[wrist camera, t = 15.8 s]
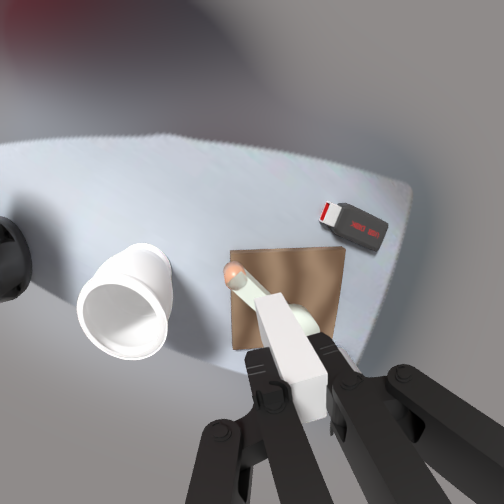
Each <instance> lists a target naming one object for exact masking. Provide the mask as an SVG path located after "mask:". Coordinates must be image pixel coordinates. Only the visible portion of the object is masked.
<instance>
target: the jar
mask: <svg viewBox="0 0 504 504" xmlns="http://www.w3.org/2000/svg"><path fill="white" fill-rule="evenodd" d="M171 275H172V271H171V265H170V262H169V260H168V258H167V257H166V255H165V254H164V253H163V252H162V251H161V250H160V249H158V248H157V247H155V246H153V245H150V244H145V243H139V244H134V245H132V246H130V247H128V248H127V249H126V250H124V251H122V252H120V253H118V254H116V255H114V256H112V257H111V258H109V259H108V260H107V261H105V262H104V263H103V264H102V265H101V266H100V268H99V269H98V270H97V272H96V273H95V275H94V276H93V278H92V279H90V280H89V281H88V282H87V283H86V284H85V285H84V287H83V288H82V290H81V292H80V294H79V296H78V300H77V316H78V319H79V323H80V325H81V327H82V329H83V331H84V333H85V334H86V336H87V337H88V338H89V339H90V340H91V341H92V343H94V344H95V345H96V346H97V347H98V348H99V349H101V350H102V351H104V352H106V353H107V354H109V355H112V356H114V357H117V358H121V359H126V360H139V359H144V358H147V357H149V356H151V355H153V354H155V353H156V352H157V351H158V350H159V349H160V348H161V347H162V345H163V344H164V342H165V339H166V336H167V330H168V319H169V317H170V314H171V310H172V305H173V287H172V279H171Z"/></svg>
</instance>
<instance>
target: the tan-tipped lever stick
mask: <svg viewBox="0 0 504 504" xmlns="http://www.w3.org/2000/svg"><path fill="white" fill-rule="evenodd" d="M223 272H224V278H225V283H226V286H227V287H228V288H229V289H231V290H232V291H234V292H235V293H236V294H237V295H238V296H239V297H240V298H241V299H242V300H243V301H245V302H246V303H247V304H248V305H249V306H250V307H251V308H252V309H253V310H255V311H256V308H255V303H254V298H258V297H263V296H267V295H271V294H270V293H269V292H268V291H267V290H266V289H265V288H264V287H263V286H262V285H261V284H260V283H259V282H258V281H257V280H256V279H255V278H254V277H253V276H252V275H251V274H250V273H249V272H248V271H247V270H246V269H245V268H244V267H243V266H242V264H241V263H239V262H237V261H232V262H229V263H227V264H226V265H225V267H224V270H223ZM289 307H290V309H291V310H292V312H293V314H294V316H295V317H296V319H297V321H298V323H299V324H300V326H301V328H302V329H303V331H304V333H305V335H306V336H309V335H313V334H316V333H320V328H319V326H318V324H317V323H316V322H315V320H314V319H313V317H312V316H311V314H310V313H309V311H308V310H307V309H306V308H305V307H304V306H302V305H299V304H289Z"/></svg>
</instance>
